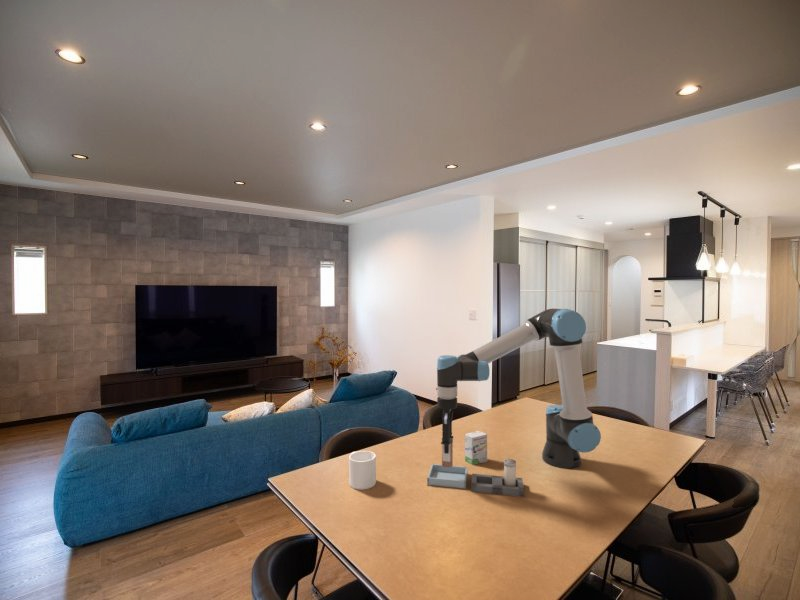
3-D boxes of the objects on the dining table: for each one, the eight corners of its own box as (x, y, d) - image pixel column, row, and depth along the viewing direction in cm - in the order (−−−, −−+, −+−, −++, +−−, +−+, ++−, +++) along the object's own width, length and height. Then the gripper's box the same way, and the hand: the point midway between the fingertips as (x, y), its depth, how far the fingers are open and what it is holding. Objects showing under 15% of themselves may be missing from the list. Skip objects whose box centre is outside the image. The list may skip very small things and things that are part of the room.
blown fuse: (453, 463, 146) (453, 437, 146) (452, 468, 142) (452, 441, 142) (442, 462, 147) (442, 436, 147) (441, 467, 143) (441, 440, 143)
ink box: (472, 466, 157) (472, 437, 157) (464, 461, 161) (464, 433, 161) (488, 461, 161) (487, 433, 161) (480, 457, 165) (479, 430, 165)
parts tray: (467, 474, 149) (467, 467, 149) (465, 489, 137) (465, 481, 137) (431, 471, 152) (431, 464, 152) (427, 486, 141) (427, 477, 141)
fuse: (515, 486, 139) (515, 459, 138) (516, 492, 134) (516, 464, 134) (503, 485, 139) (503, 458, 139) (504, 491, 135) (504, 463, 135)
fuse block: (522, 485, 140) (522, 478, 140) (524, 497, 132) (524, 490, 132) (472, 480, 144) (472, 473, 144) (471, 492, 136) (471, 484, 136)
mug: (381, 484, 142) (380, 457, 142) (357, 493, 136) (357, 464, 136) (363, 472, 152) (363, 446, 152) (341, 479, 146) (340, 452, 146)
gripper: (440, 390, 154) (440, 448, 154) (434, 402, 137) (434, 467, 137) (458, 391, 152) (458, 450, 152) (455, 403, 136) (455, 469, 136)
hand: (447, 458), depth 145 cm, fingers closed on blown fuse, 4 cm apart
